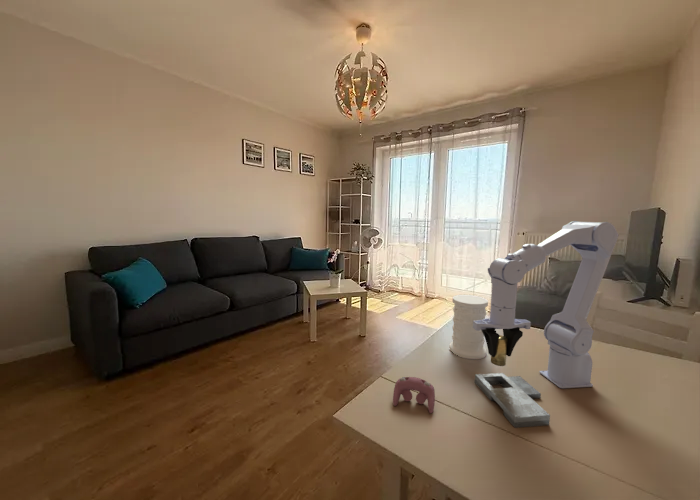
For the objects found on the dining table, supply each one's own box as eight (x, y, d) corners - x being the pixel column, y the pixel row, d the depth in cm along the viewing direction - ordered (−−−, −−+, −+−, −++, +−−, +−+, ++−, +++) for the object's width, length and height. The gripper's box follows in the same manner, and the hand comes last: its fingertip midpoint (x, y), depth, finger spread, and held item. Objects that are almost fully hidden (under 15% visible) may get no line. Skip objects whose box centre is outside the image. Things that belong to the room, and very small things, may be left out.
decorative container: (488, 348, 101) (491, 297, 98) (483, 362, 91) (486, 306, 89) (453, 340, 107) (456, 292, 104) (445, 353, 97) (447, 300, 95)
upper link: (502, 381, 81) (503, 372, 81) (549, 425, 64) (550, 415, 64) (474, 382, 80) (475, 374, 80) (514, 427, 64) (515, 417, 63)
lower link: (519, 380, 82) (519, 376, 81) (540, 398, 74) (540, 393, 73) (474, 382, 80) (474, 378, 80) (491, 401, 72) (491, 396, 72)
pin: (501, 359, 80) (503, 334, 79) (508, 366, 76) (510, 340, 75) (488, 359, 80) (489, 334, 79) (494, 365, 76) (495, 340, 75)
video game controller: (434, 411, 71) (436, 380, 73) (433, 414, 67) (435, 381, 69) (394, 403, 74) (396, 373, 76) (391, 405, 70) (393, 374, 72)
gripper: (519, 299, 80) (515, 347, 82) (468, 300, 79) (465, 348, 81) (538, 308, 73) (533, 359, 75) (482, 309, 72) (478, 361, 74)
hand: (499, 354), depth 77 cm, fingers closed on pin, 4 cm apart
